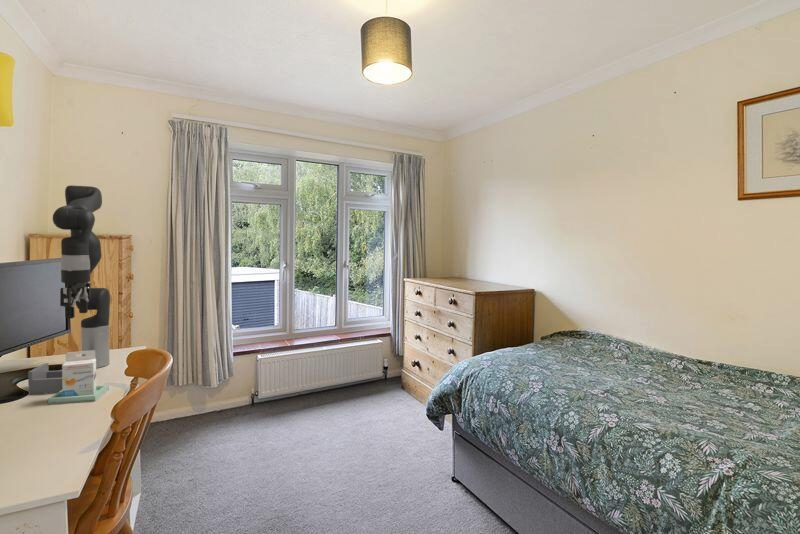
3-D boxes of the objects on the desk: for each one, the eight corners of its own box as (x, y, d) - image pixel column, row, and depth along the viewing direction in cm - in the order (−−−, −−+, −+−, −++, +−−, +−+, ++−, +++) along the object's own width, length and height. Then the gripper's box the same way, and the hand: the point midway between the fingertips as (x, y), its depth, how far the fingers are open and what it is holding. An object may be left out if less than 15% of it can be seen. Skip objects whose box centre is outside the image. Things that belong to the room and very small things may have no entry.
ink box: (61, 399, 126) (60, 356, 125) (65, 394, 130) (64, 352, 129) (94, 395, 130) (93, 353, 129) (96, 390, 134) (96, 349, 133)
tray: (65, 392, 133) (65, 387, 133) (108, 389, 137) (108, 384, 137) (48, 404, 123) (48, 399, 123) (95, 401, 127) (95, 395, 127)
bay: (45, 384, 139) (45, 363, 139) (85, 382, 143) (85, 361, 142) (28, 394, 130) (28, 371, 130) (71, 391, 134) (71, 369, 133)
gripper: (73, 266, 133) (74, 311, 134) (49, 270, 120) (51, 320, 121) (99, 266, 135) (99, 311, 137) (77, 270, 122) (79, 319, 123)
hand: (76, 315), depth 129 cm, fingers open, 8 cm apart
